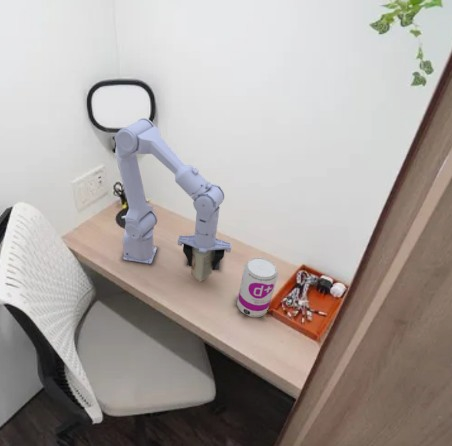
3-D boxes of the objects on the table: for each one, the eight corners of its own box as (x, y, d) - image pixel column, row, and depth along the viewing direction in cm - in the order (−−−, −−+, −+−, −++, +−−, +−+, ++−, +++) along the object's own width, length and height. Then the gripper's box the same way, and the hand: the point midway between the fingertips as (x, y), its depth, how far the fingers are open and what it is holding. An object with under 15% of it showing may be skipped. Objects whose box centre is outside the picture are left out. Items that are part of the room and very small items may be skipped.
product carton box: (201, 266, 103) (204, 240, 97) (212, 274, 100) (215, 248, 94) (189, 274, 100) (191, 248, 94) (200, 282, 97) (203, 256, 91)
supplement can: (268, 320, 89) (281, 280, 80) (236, 316, 90) (245, 276, 81) (266, 297, 95) (277, 258, 86) (236, 293, 96) (244, 254, 88)
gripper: (176, 233, 88) (174, 271, 96) (232, 241, 85) (226, 279, 93) (181, 218, 94) (179, 255, 102) (234, 225, 91) (227, 262, 99)
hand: (201, 265), depth 98 cm, fingers closed on product carton box, 6 cm apart
